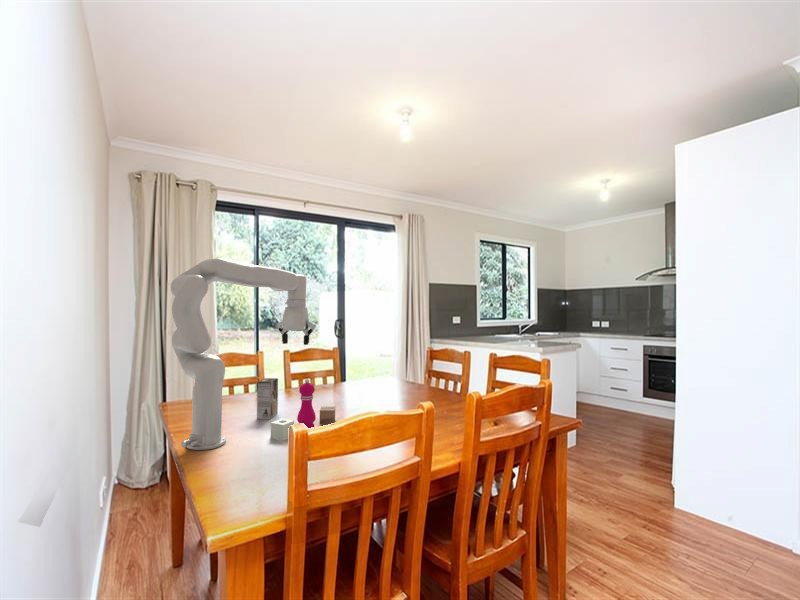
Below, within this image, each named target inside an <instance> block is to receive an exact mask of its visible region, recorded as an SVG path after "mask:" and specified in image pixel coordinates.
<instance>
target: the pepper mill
mask: <svg viewBox="0 0 800 600" xmlns="http://www.w3.org/2000/svg"><path fill="white" fill-rule="evenodd" d="M298 391H299V393H300V400H301V405H300V408H299V411H298V413H297V417H296V420H297V422H298V424H300V423H304V424H305V425H306V426H307V427H308V428H311V427H314V428H315V423H314V422H315V421H316V419H317V417H316V413H315V410H314V408H313V399H314V395H313V394H314V393H315V391H316V389H315V386H314V384H313V383H311V382H310V380H309V379H308V378H306V379H305V380H304V383H302V384H301V385H299V390H298Z"/></svg>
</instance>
